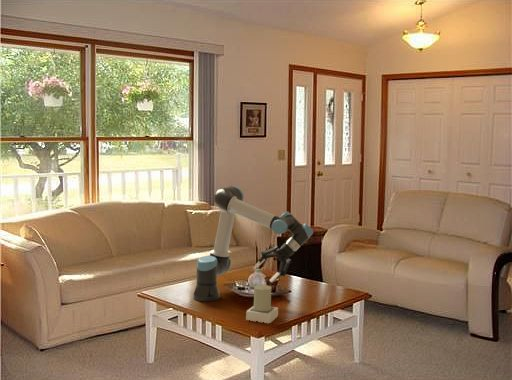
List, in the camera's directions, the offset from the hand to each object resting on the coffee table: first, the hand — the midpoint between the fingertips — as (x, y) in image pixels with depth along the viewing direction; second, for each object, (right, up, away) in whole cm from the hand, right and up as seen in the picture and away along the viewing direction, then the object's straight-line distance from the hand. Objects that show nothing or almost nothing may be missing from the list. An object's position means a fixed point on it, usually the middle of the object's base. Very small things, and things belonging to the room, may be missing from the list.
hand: (263, 274), depth 345 cm
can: (-1, -16, -18) cm, 24 cm away
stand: (-1, -21, -18) cm, 27 cm away
